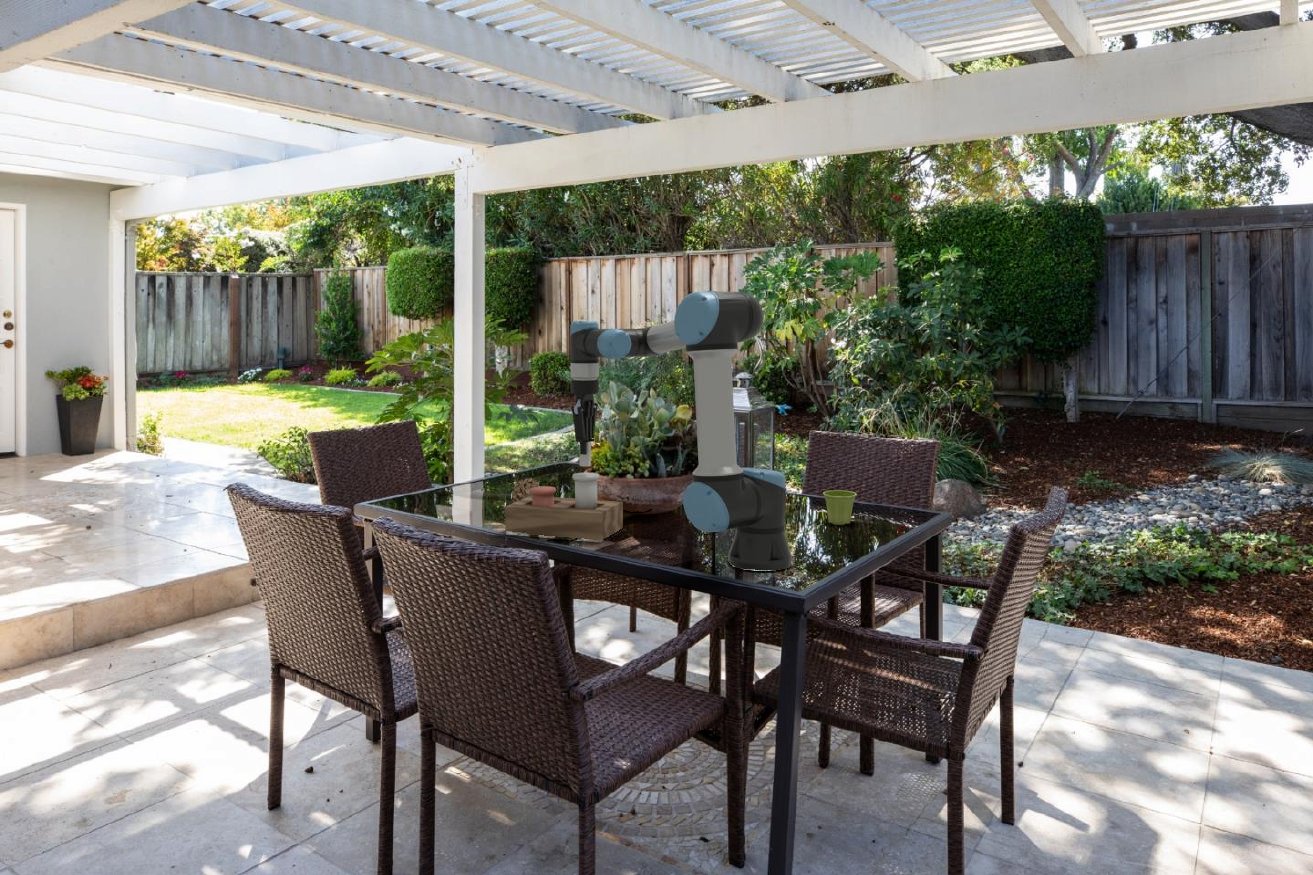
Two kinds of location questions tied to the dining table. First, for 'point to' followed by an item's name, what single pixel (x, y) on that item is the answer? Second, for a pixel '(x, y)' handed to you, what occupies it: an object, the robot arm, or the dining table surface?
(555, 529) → the brown wooden plug box
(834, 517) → the plant pot
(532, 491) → the red plug
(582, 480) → the grey plug
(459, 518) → the dining table surface
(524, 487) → the pine cone
